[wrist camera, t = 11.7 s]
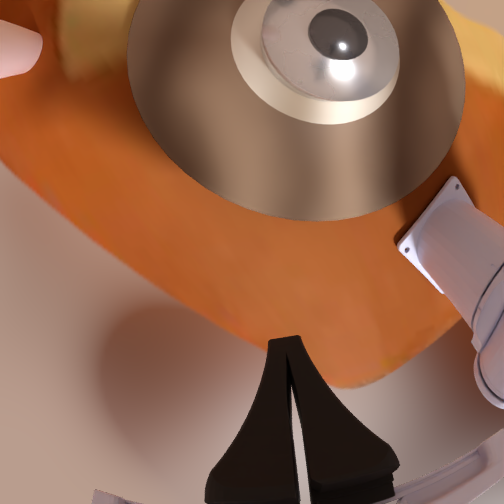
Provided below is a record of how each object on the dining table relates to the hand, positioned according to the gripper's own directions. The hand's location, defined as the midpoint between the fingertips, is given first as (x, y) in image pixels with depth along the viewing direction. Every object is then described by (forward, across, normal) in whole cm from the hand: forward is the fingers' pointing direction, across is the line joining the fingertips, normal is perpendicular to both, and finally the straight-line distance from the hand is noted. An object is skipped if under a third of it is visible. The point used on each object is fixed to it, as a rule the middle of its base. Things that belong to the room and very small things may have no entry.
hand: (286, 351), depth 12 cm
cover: (+7, -5, -13) cm, 16 cm away
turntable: (+9, -5, -13) cm, 17 cm away
